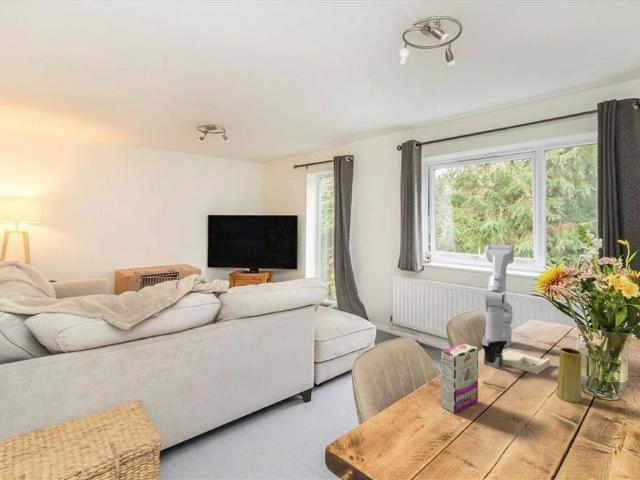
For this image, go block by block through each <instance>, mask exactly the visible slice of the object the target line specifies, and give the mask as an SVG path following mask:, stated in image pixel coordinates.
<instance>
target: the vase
mask: <svg viewBox="0 0 640 480" xmlns="http://www.w3.org/2000/svg"><path fill="white" fill-rule="evenodd" d="M558 365H559V366H558V370H557V373H558V374H557V381H556V382H557V384H556V385H557V387H556V396H557V398H560V399H561V400H562V401H566V402H570V403H580V402H581V401H582V352H581V351H580V350H578V349H575V348H572V347H571V348H570V347H561V348H560V349H559V364H558Z"/></svg>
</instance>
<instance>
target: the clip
mask: <svg viewBox="0 0 640 480" xmlns="http://www.w3.org/2000/svg"><path fill="white" fill-rule="evenodd" d="M483 355H484V356H483V364H484V365H486V366H489V367H492V368H495V369H499V368H500V367H501V368H502V367H503V366H504V364H503V355H501V354H498V353H495V359H494V363H490V362H487V359H486V355H485V352H484V353H483Z"/></svg>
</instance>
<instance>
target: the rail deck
mask: <svg viewBox="0 0 640 480" xmlns="http://www.w3.org/2000/svg"><path fill="white" fill-rule="evenodd" d="M501 355H503V365H506V366H510V367H512V368H516V369H519V370H522V371H526V372H529V373H531V374H535V375H538V374H540V373H541V372H543V371H544V370H545V369H547V368H548V367H550V366H551V358H549V357H546V358H544V359H543V358H540V357H536V356H532V355H529V354H525V353H522V352H517V351H514V350H511V349H510V350H507V351H505V352H502V354H501ZM533 364H534V365H533Z"/></svg>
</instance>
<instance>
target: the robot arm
mask: <svg viewBox="0 0 640 480" xmlns="http://www.w3.org/2000/svg"><path fill="white" fill-rule="evenodd" d="M486 258H487V261H488V262H489V263H491V264H492V274H491V275H490V276H489V278H488V285H487V292H485V295H484V304H485V312H486V313H485V334H484V335H483V338H482V339H481V342H480V345H481V348H482V349H483V350H484V351H483V352H484V353H485V355H486V359H487V362H490V363H494V359H495V353H498V354H503V350H504V349H505V348H506V347H509V346H511V345H513V344H514V341H512V332H513V329H512V327H511V324H513V314H514V313H513V312H514V311H513V307H512V304H511V303H509V302H508V301H506V300H507V298H506V297H507V296H506V290H507V289H506V288H507V267H508V265H509V264H510V265H511V264H513V263H514V258H515V245H513V244H491V243H489V244H487V245H486Z"/></svg>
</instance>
